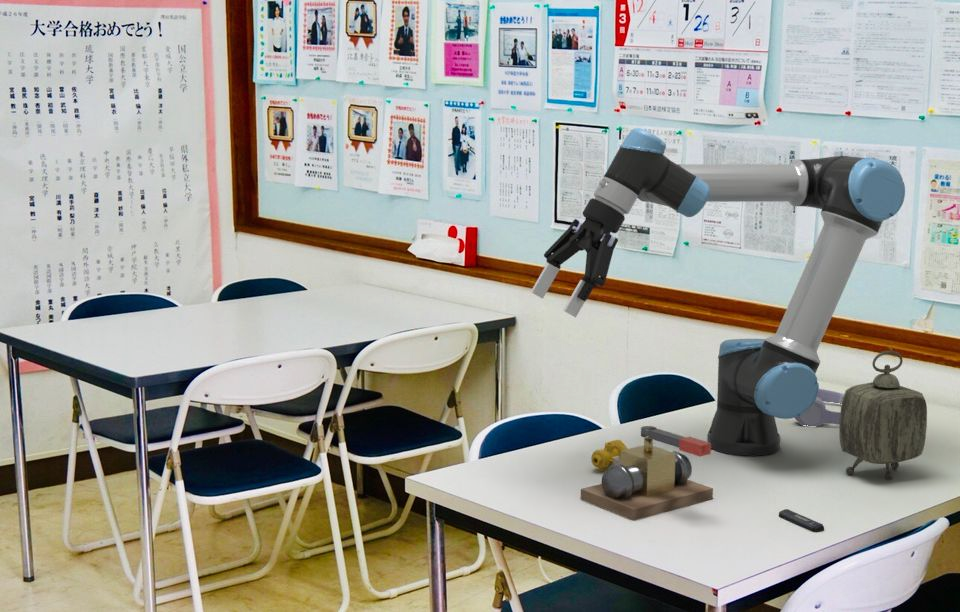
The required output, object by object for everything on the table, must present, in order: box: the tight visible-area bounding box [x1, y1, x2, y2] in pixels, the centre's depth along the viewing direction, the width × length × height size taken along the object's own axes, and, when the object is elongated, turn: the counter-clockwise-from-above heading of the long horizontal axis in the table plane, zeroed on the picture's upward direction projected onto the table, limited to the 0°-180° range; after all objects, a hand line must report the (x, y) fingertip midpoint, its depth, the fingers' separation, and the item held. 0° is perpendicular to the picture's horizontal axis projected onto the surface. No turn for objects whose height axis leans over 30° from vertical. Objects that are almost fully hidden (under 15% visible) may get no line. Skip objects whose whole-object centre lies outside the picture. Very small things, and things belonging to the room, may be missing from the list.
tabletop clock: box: [838, 350, 928, 481], centre depth 238 cm, size 14×9×25 cm, turn 111°
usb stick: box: [778, 508, 825, 533], centre depth 213 cm, size 10×3×2 cm, turn 27°
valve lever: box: [640, 425, 712, 458], centre depth 218 cm, size 15×3×2 cm, turn 37°
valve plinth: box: [580, 479, 714, 521], centre depth 225 cm, size 20×14×2 cm
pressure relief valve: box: [590, 439, 629, 472], centre depth 242 cm, size 6×12×10 cm
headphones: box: [794, 388, 845, 427], centre depth 285 cm, size 22×7×20 cm
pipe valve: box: [601, 437, 693, 499], centre depth 224 cm, size 18×7×10 cm, turn 127°
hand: (552, 304), depth 231 cm, fingers open, 13 cm apart
